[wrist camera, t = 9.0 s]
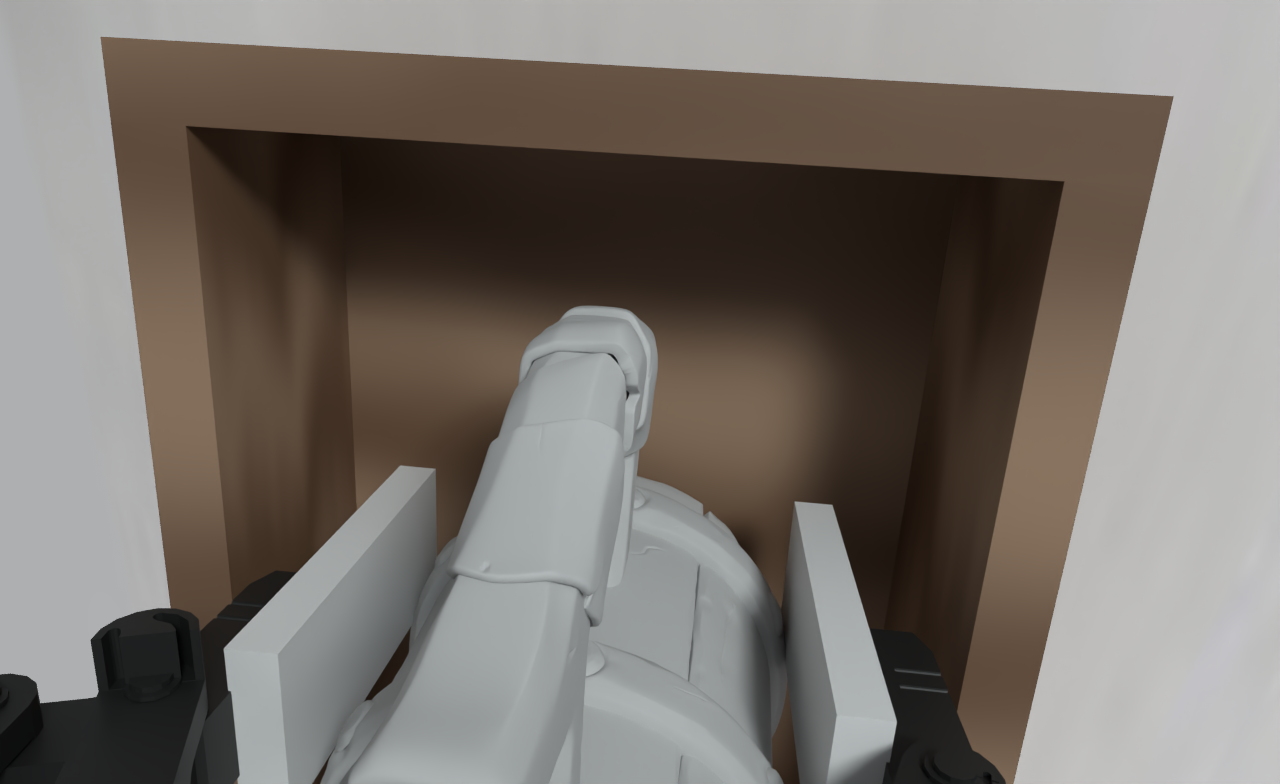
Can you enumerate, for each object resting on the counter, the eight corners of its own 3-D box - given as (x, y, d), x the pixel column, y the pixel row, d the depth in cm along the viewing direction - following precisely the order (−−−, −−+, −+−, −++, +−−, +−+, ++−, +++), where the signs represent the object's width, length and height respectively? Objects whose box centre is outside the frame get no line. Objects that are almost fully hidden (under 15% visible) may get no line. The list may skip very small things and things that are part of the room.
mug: (441, 739, 20) (75, 1532, 9) (438, 243, 17) (-187, 486, 5) (761, 778, 20) (817, 1677, 8) (828, 274, 16) (1092, 619, 5)
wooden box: (295, 67, 18) (100, 37, 13) (1022, 109, 17) (1173, 96, 11) (336, 764, 24) (215, 963, 18) (890, 829, 23) (948, 1063, 17)
